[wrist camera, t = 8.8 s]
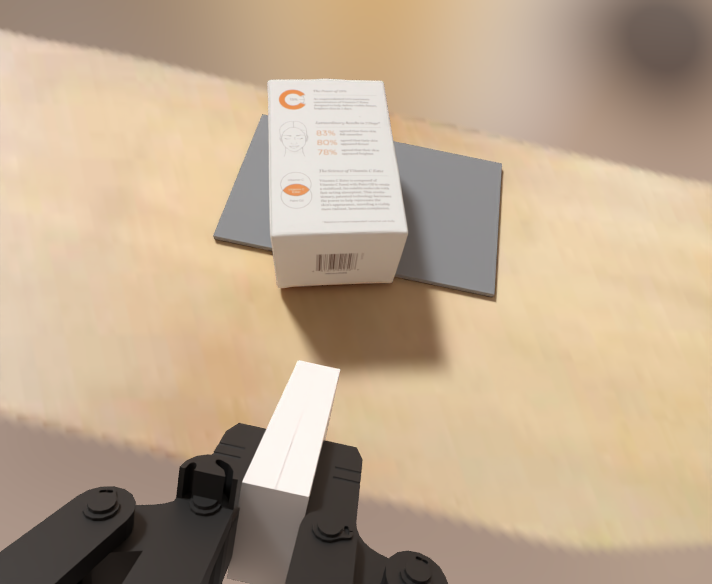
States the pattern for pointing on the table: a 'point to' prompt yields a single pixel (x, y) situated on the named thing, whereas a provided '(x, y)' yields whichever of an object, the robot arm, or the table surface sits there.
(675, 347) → the table surface
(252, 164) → the mat
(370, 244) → the small box
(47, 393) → the table surface
